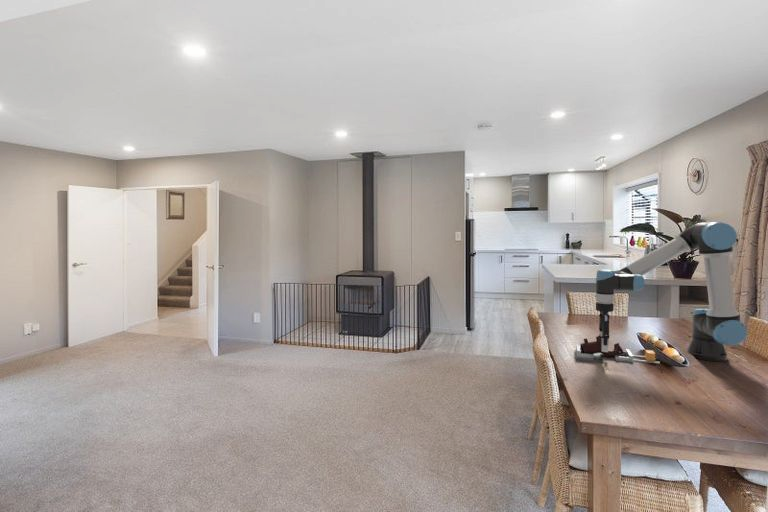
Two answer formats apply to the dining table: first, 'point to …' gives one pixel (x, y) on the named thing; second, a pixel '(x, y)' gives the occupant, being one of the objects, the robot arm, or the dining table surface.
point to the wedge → (649, 355)
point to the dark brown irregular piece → (599, 348)
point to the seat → (598, 358)
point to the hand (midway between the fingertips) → (603, 348)
